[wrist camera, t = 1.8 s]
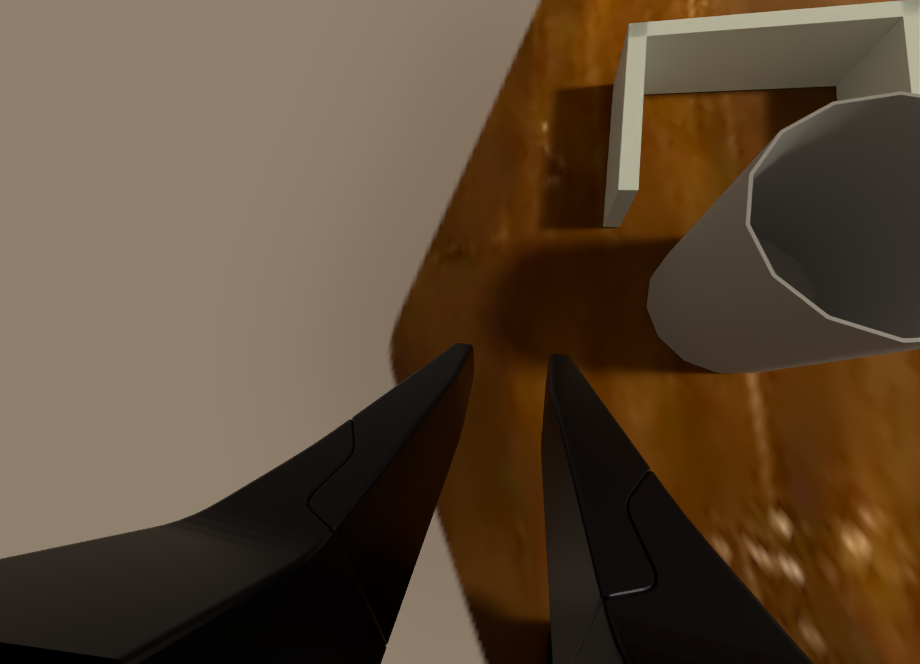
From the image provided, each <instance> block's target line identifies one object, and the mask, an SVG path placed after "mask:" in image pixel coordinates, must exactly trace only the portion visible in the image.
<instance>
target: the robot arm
mask: <svg viewBox="0 0 920 664" xmlns="http://www.w3.org/2000/svg"><path fill="white" fill-rule="evenodd" d="M473 376H474V351H473V346H472V345H469V344H461V343H456V344H454V345H453V346H452V347H450V348H449V349H447V350H446V351H445V352H443V353H442V354H440V355H439V356H438V357H436V358H435V359H433V360H432V361H431V362H429V363H428V364H426V365H425V366H424V367H422V368H421V369H419V370H418V371H417V372H415V373H414V374H412V375H411V376H410V377H408V378H407V379H405V380H404V381H403V382H401V383H400V384H398V385H397V386H396V387H394V388H393V389H391V390H390V391H389V392H388V393H386V394H384V395H383V396H382V397H380V398H379V399H378V400H376V401H375V402H373V403H372V404H371V405H369V406H368V407H366V408H365V409H364V410H362V411H361V412H359V413H358V414H357V415H355V416H354V417H353V418H352V420H348V421H347V422H345V423H344V424H342V425H341V426H340V427H338V428H337V429H336V430H334V431H333V432H331V433H329V434H328V435H327V436H325V437H324V438H322V439H321V440H319V441H318V442H316V443H315V444H313V445H312V446H310V447H309V448H307V449H306V450H304V451H302V452H301V453H299V454H297V455H296V456H294V457H293V458H291V459H289V460H288V461H286V462H284V463H283V464H281V465H279V466H278V467H276V468H274V469H273V470H271V471H269V472H268V473H266V474H265V475H263V476H261V477H259V478H258V479H256V480H254V481H253V482H251V483H249V484H248V485H246V486H244V487H243V488H241V489H239V490H238V491H236V492H234V493H233V494H231V495H229V496H228V497H226V498H224V499H223V500H221V501H219V502H217V503H216V504H214V505H212V506H210V507H208V508H207V509H204V510H202V511H200V512H198V513H196V514H194V515H192V516H189V517H187V518H184V519H181V520H179V521H175V522H172V523H169V524H165V525H162V526H157V527H153V528H148V529H143V530H138V531H133V532H128V533H123V534H119V535H114V536H109V537H104V538H99V539H94V540H90V541H85V542H80V543H75V544H70V545H65V546H61V547H56V548H51V549H46V550H41V551H37V552H32V553H27V554H22V555H17V556H12V557H7V558H2V559H0V664H381V661H382V658H383V655H384V653H385V650H386V644H387V643H388V641H389V638H390V635H391V632H392V630H393V627H394V624H395V621H396V618H397V615H398V612H399V610H400V607H401V604H402V601H403V598H404V596H405V593H406V590H407V587H408V584H409V581H410V579H411V575H412V573H413V570H414V567H415V564H416V561H417V559H418V556H419V553H420V550H421V547H422V544H423V542H424V539H425V536H426V533H427V530H428V527H429V525H430V522H431V519H432V516H433V513H434V510H435V508H436V505H437V502H438V499H439V496H440V493H441V491H442V488H443V485H444V482H445V479H446V476H447V474H448V471H449V468H450V465H451V462H452V459H453V457H454V454H455V451H456V448H457V445H458V442H459V439H460V436H461V432H462V428H463V424H464V420H465V415H466V410H467V406H468V401H469V396H470V392H471V387H472V382H473ZM541 458H542V476H543V494H544V512H545V530H546V548H547V566H548V584H549V602H550V620H551V632H550V633H549V636H548V645H547V657H546V664H814V663H813V662H812V661H811V660H810V658H809V657H808V656H807V655H806V654H805V653H804V652H803V651H802V650H801V649H800V648H799V646H798V645H797V644H796V643H795V642H794V641H793V640H792V638H791V637H790V636H789V635H788V634H787V633H786V631H785V630H784V629H783V628H782V627H781V626H780V625H779V623H778V622H777V621H776V620H775V619H774V618H773V617H772V615H771V614H770V613H769V612H768V611H767V610H766V609H765V607H764V606H763V605H762V604H761V603H760V602H759V601H758V599H757V598H756V597H755V596H754V595H753V594H752V592H751V591H750V590H749V589H748V588H747V587H746V586H745V584H744V583H743V582H742V581H741V580H740V579H739V578H738V576H737V575H736V574H735V573H734V572H733V571H732V570H731V568H730V567H729V566H728V565H727V564H726V563H725V562H724V560H723V559H722V558H721V557H720V556H719V555H718V553H717V552H716V551H715V550H714V549H713V548H712V546H711V545H710V544H709V543H708V542H707V540H706V539H705V538H704V537H703V536H702V534H701V533H700V532H699V531H698V530H697V528H696V527H695V526H694V525H693V524H692V523H691V521H690V520H689V519H688V518H687V516H686V515H685V514H684V513H683V511H682V510H681V509H680V507H679V506H678V505H677V503H676V502H675V501H674V499H673V498H672V497H671V496H670V494H669V493H668V492H667V490H666V489H665V488H664V486H663V485H662V483H661V482H660V481H659V479H658V478H657V477H656V475H655V474H654V472H652V471H650V467H649V466H648V464H647V463H646V462H645V460H644V459H643V457H642V456H641V455H640V453H639V452H638V451H637V449H636V448H635V446H634V445H633V444H632V442H631V441H630V440H629V438H628V437H627V435H626V434H625V433H624V431H623V430H622V429H621V427H620V426H619V424H618V423H617V422H616V420H615V419H614V418H613V416H612V415H611V413H610V412H609V411H608V409H607V408H606V406H605V405H604V404H603V402H602V401H601V400H600V398H599V397H598V395H597V394H596V393H595V391H594V390H593V389H592V387H591V386H590V384H589V383H588V382H587V380H586V379H585V378H584V376H583V375H582V373H581V372H580V371H579V369H578V368H577V366H576V365H575V364H574V362H573V361H572V360H571V358H570V357H569V356H567V355H559V354H551V355H550V357H549V364H548V372H547V379H546V388H545V400H544V413H543V426H542V441H541Z"/></svg>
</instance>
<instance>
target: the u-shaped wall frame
mask: <svg viewBox="0 0 920 664" xmlns="http://www.w3.org/2000/svg"><path fill="white" fill-rule="evenodd" d="M828 86H836V90H837V101H841V100H847V99H854V98H860V97H867V96H874V95H880V94H887V93H893V92H900V91H902V92H908V93H915V94H920V0H903V1H891V2H879V3H868V4H856V5H844V6H832V7H820V8H808V9H796V10H785V11H773V12H761V13H749V14H737V15H725V16H713V17H701V18H690V19H678V20H666V21H654V22H642V23H630V24H629V26H628V30H627V34H626V38H625V42H624V45H623V49H622V53H621V57H620V61H619V65H618V68H617V72H616V76H615V80H614V84H613V97H612V111H611V124H610V138H609V152H608V165H607V179H606V192H605V206H604V219H603V227H620V225H621V223H622V221H623V219H624V217H625V215H626V213H627V211H628V209H629V207H630V205H631V203H632V202H633V200H634V198H635V196H636V194H637V192H638V186H639V168H640V150H641V132H642V113H643V95H644V94H664V93H688V92H711V91H734V90H758V89H781V88H804V87H828Z"/></svg>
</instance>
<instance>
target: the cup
mask: <svg viewBox="0 0 920 664" xmlns="http://www.w3.org/2000/svg"><path fill="white" fill-rule="evenodd" d="M647 310H648V312H649V315H650V317H651V320H652V322H653V325H654V327H655V330H656V332H657V335H658V337H659V338H660V339H661V340H662V341H663V342H664V343H666V344H667V345H668V346H669V347H670V348H671V349H672V350H673V351H674V352H675V353H676V354H677V355H678V356H680V357H681V358H682V359H683V360H684V361H686V362H689V363H692V364H694V365H697V366H700V367H703V368H705V369H708V370H711V371H713V372H716V373H719V374H725V373H757V372H764V371H771V370H778V369H785V368H792V367H799V366H805V365H812V364H819V363H826V362H833V361H840V360H847V359H854V358H860V357H867V356H874V355H881V354H888V353H895V352H902V351H909V350H915V349H920V94H915V93H908V92H902V91H900V92H893V93H887V94H880V95H874V96H867V97H860V98H854V99H847V100H841V101H834V102H831V103H830V104H828V105H826V106H824V107H822V108H821V109H819V110H817V111H815V112H813V113H811V114H810V115H808V116H806V117H804V118H802V119H800V120H799V121H797V122H795V123H793V124H791V125H790V126H788V127H786V128H784V129H782V130H780V131H779V132H778V133H777V135H776V136H775V137H774V138H773V139H772V140H771V141H770V142H769V143H768V144H767V146H766V147H765V148H764V149H763V150H762V151H761V152H760V153H759V154H758V155H757V157H756V158H755V159H754V160H753V161H752V162H751V163H750V164H749V165H748V166H747V167H746V169H745V170H744V171H743V172H742V173H741V174H740V175H739V176H738V177H737V178H736V180H735V181H734V182H733V183H732V184H731V185H730V186H729V187H728V188H727V189H726V190H725V192H724V193H723V194H722V195H721V196H720V197H719V198H718V199H717V200H716V201H715V203H714V204H713V205H712V206H711V207H710V208H709V209H708V210H707V211H706V212H705V214H704V215H703V216H702V217H701V218H700V219H699V220H698V221H697V222H696V223H695V224H694V226H693V227H692V228H691V229H690V230H689V231H688V232H687V233H686V234H685V235H684V237H683V238H682V239H681V240H680V241H679V242H678V243H677V244H676V245H675V246H674V248H673V249H672V250H671V251H670V252H669V253H668V254H667V255H666V257H665V258H664V260H663V261H662V262H661V264H660V265H659V267H658V268H657V269H656V271H655V272H654V273H653V275H652V276H651V278H650V283H649V291H648V300H647Z"/></svg>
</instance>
